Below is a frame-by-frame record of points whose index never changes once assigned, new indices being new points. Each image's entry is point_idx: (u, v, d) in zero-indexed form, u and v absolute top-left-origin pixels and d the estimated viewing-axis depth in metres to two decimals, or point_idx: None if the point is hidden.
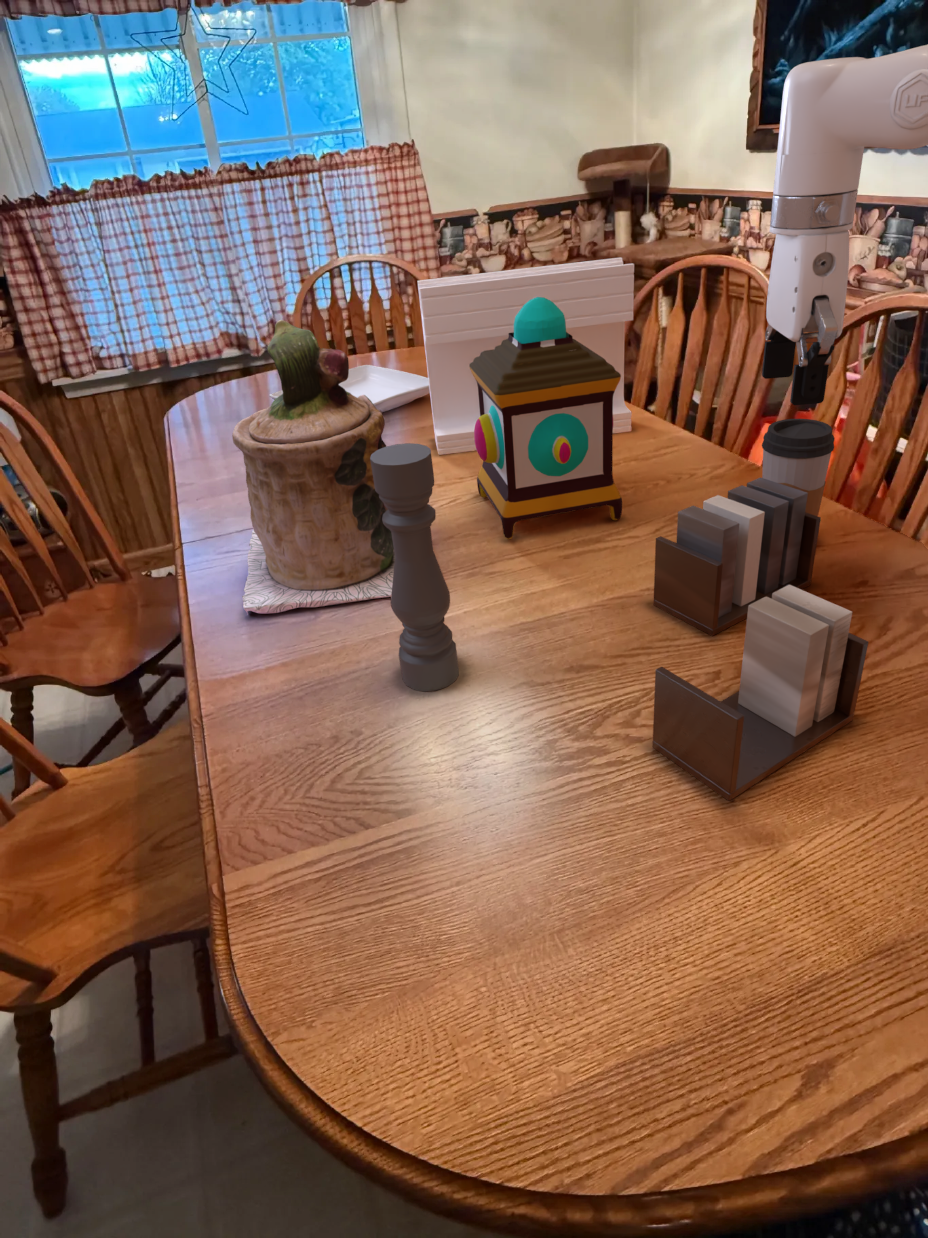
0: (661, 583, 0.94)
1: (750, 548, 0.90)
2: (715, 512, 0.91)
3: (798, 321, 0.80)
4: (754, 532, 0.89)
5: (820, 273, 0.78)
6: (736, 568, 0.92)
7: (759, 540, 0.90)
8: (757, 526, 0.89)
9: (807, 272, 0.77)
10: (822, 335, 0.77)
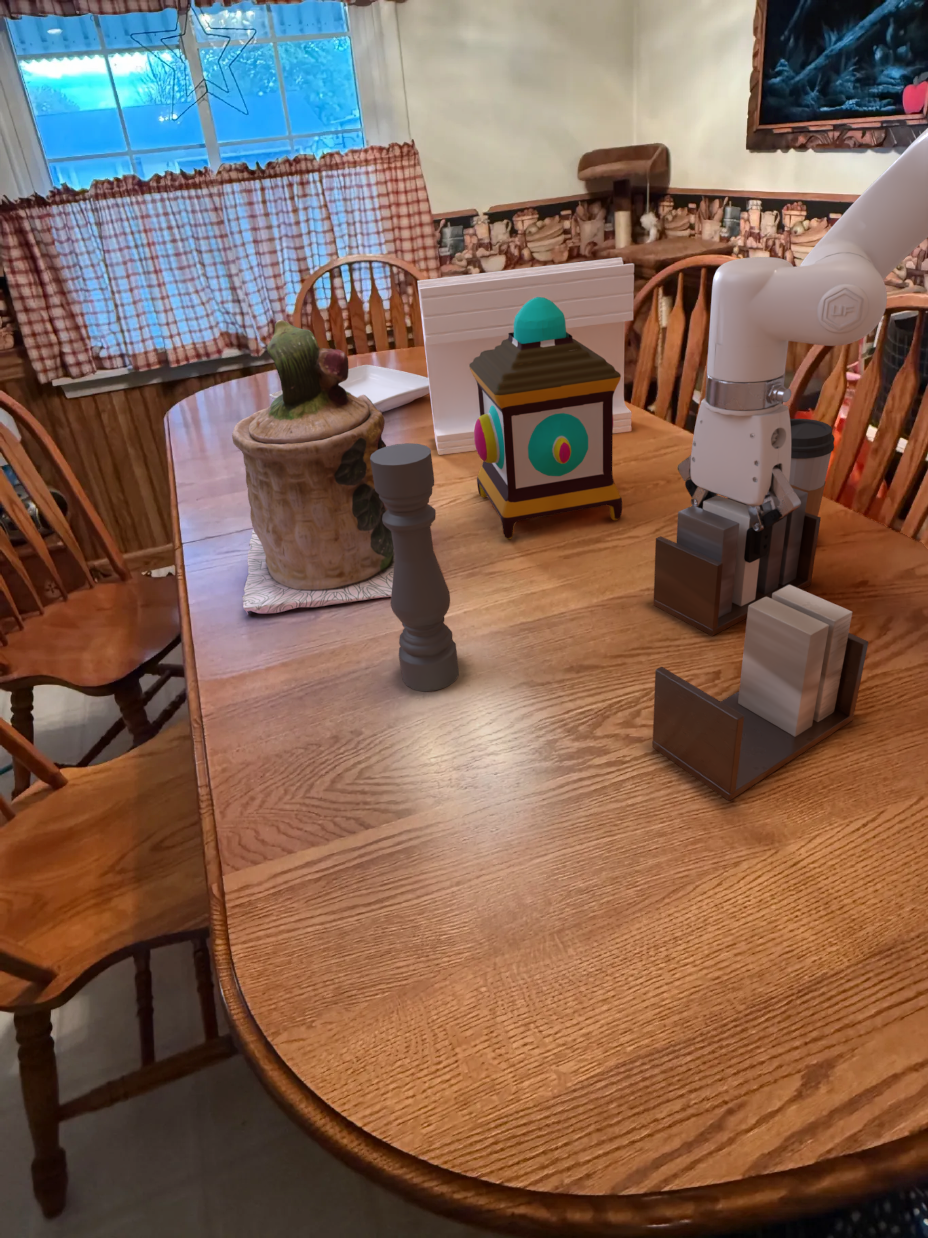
0: (661, 583, 0.94)
1: None
2: (715, 512, 0.91)
3: (761, 489, 0.84)
4: None
5: None
6: (736, 568, 0.92)
7: None
8: None
9: (767, 447, 0.82)
10: (787, 509, 0.84)
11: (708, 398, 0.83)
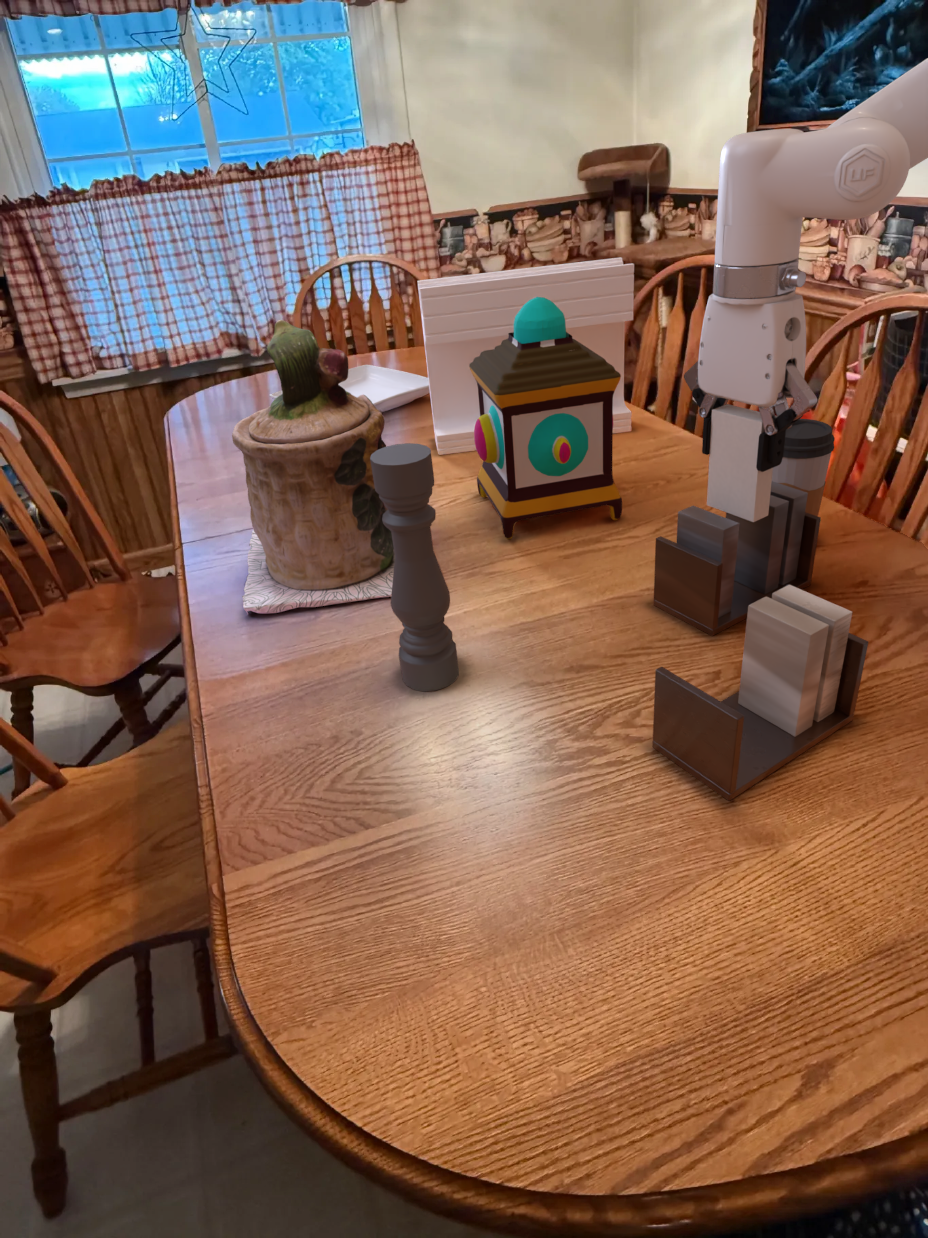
0: (661, 583, 0.94)
1: None
2: (725, 420, 0.86)
3: (775, 386, 0.78)
4: None
5: None
6: (748, 480, 0.86)
7: None
8: None
9: (780, 338, 0.76)
10: (802, 407, 0.78)
11: (716, 289, 0.78)
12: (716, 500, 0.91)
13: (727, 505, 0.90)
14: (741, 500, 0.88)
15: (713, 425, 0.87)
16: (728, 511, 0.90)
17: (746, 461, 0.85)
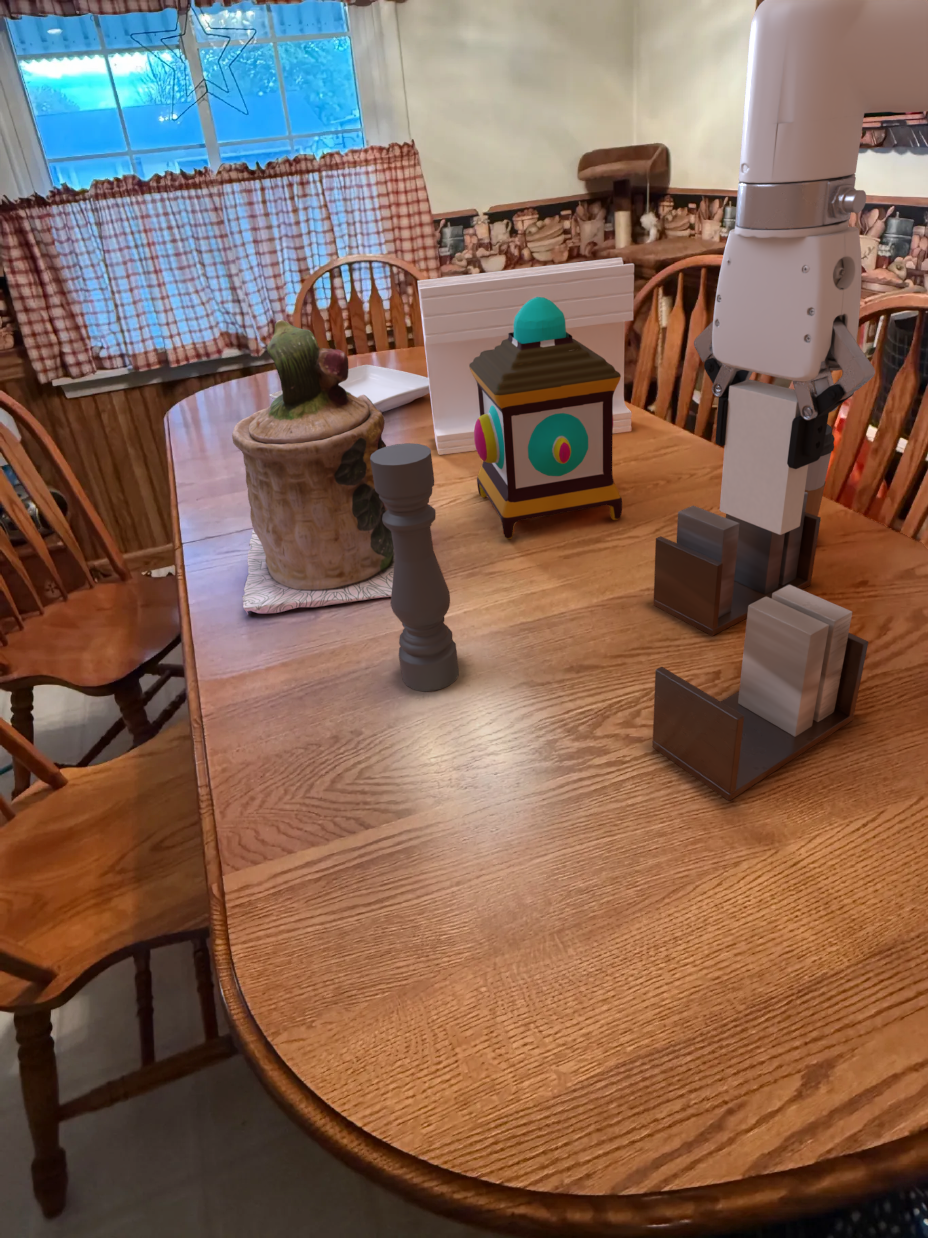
0: (661, 583, 0.94)
1: None
2: (746, 400, 0.65)
3: (817, 353, 0.58)
4: None
5: None
6: (775, 479, 0.65)
7: None
8: None
9: (827, 286, 0.56)
10: (854, 382, 0.57)
11: (740, 218, 0.57)
12: (732, 505, 0.70)
13: (746, 512, 0.69)
14: (765, 505, 0.67)
15: (730, 407, 0.67)
16: (747, 519, 0.69)
17: (773, 455, 0.65)
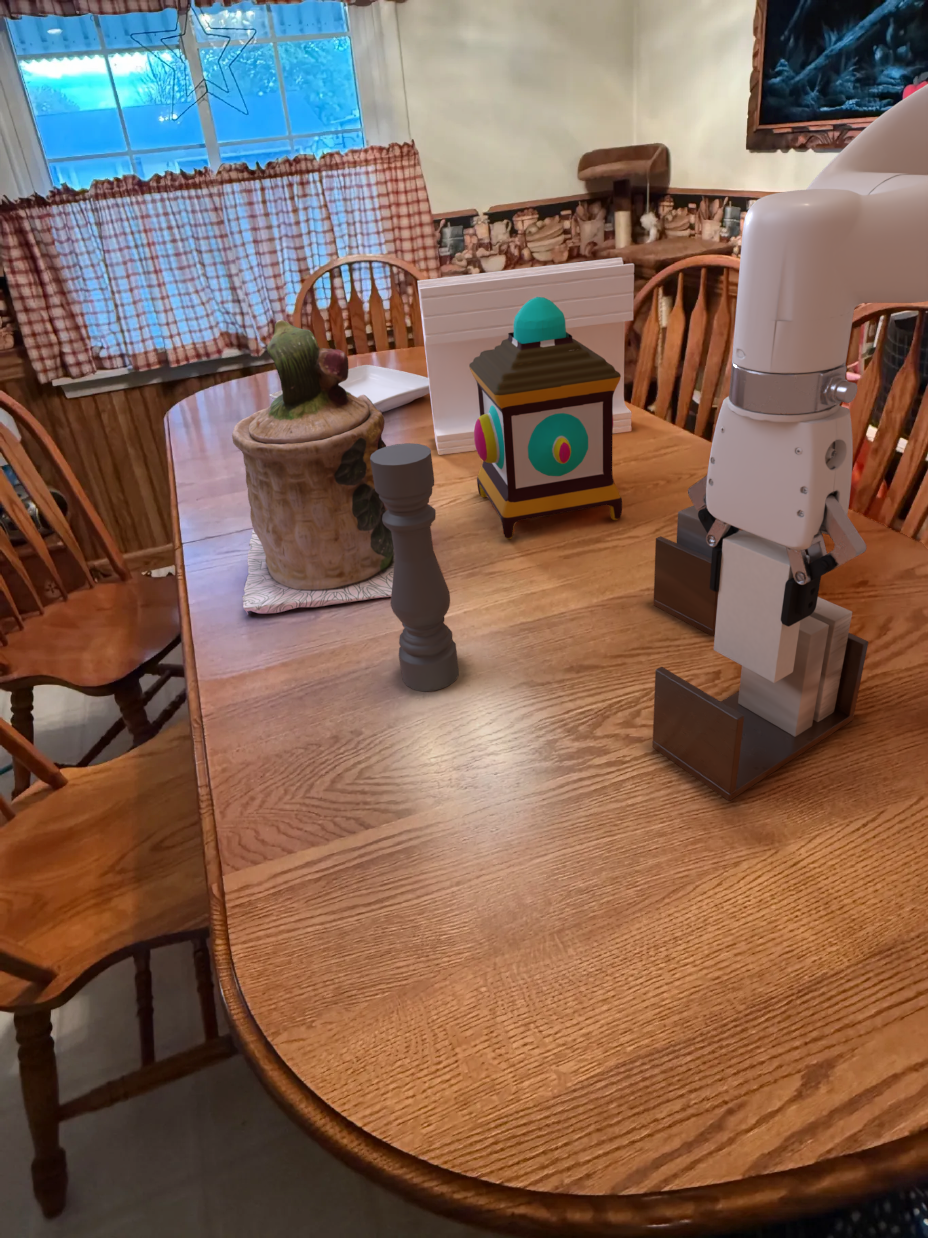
0: (661, 583, 0.94)
1: None
2: (740, 555, 0.66)
3: (810, 527, 0.59)
4: None
5: None
6: (768, 632, 0.66)
7: None
8: None
9: (820, 468, 0.57)
10: (846, 556, 0.58)
11: (734, 397, 0.58)
12: (726, 647, 0.71)
13: (740, 656, 0.70)
14: (759, 654, 0.68)
15: (723, 558, 0.68)
16: (741, 663, 0.70)
17: (766, 609, 0.66)
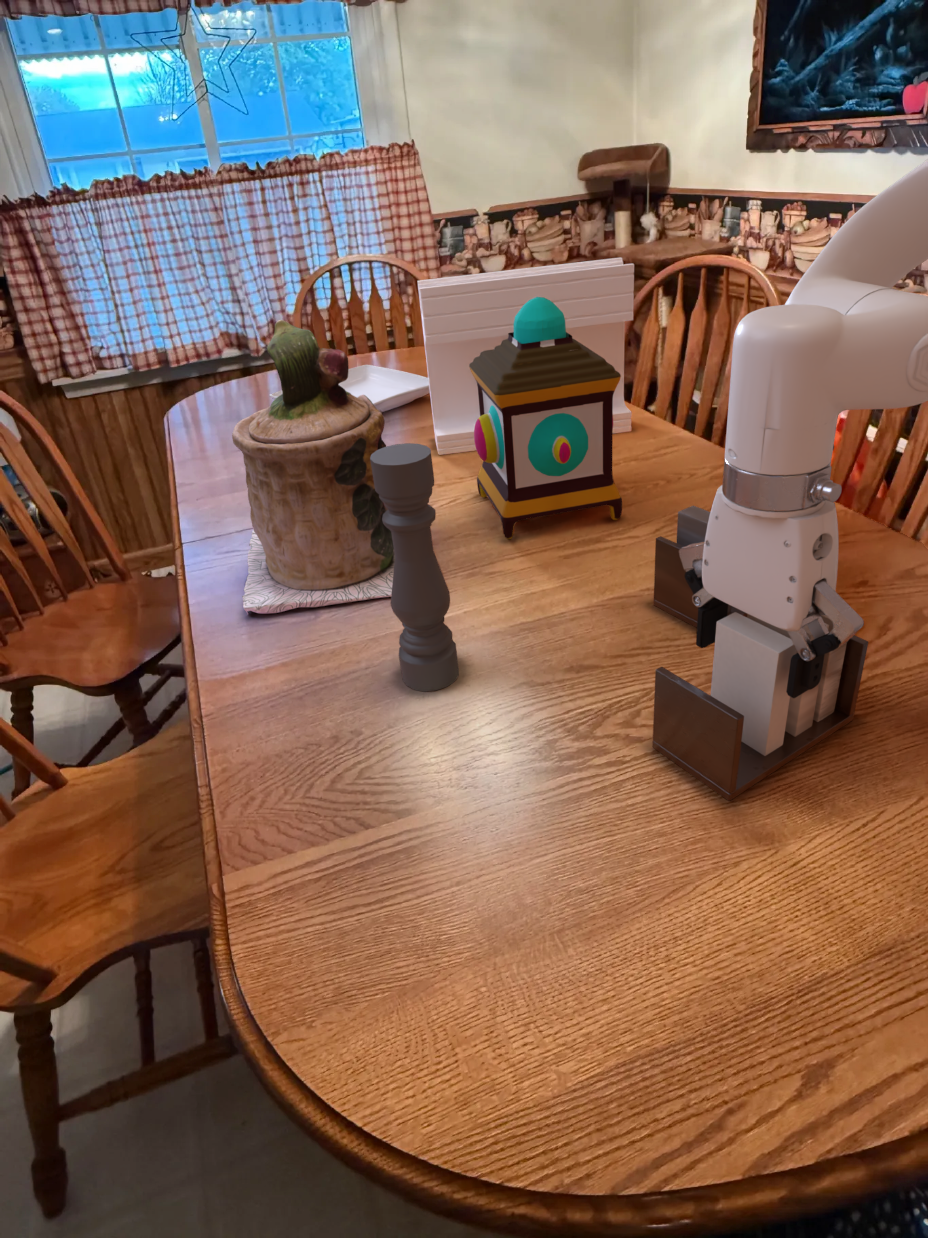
0: (661, 583, 0.94)
1: (778, 688, 0.69)
2: (732, 638, 0.70)
3: (799, 612, 0.62)
4: (784, 668, 0.68)
5: None
6: (759, 710, 0.71)
7: None
8: (788, 661, 0.68)
9: (807, 560, 0.60)
10: (846, 632, 0.61)
11: (727, 491, 0.62)
12: None
13: None
14: (751, 728, 0.72)
15: (717, 639, 0.72)
16: None
17: (757, 689, 0.70)
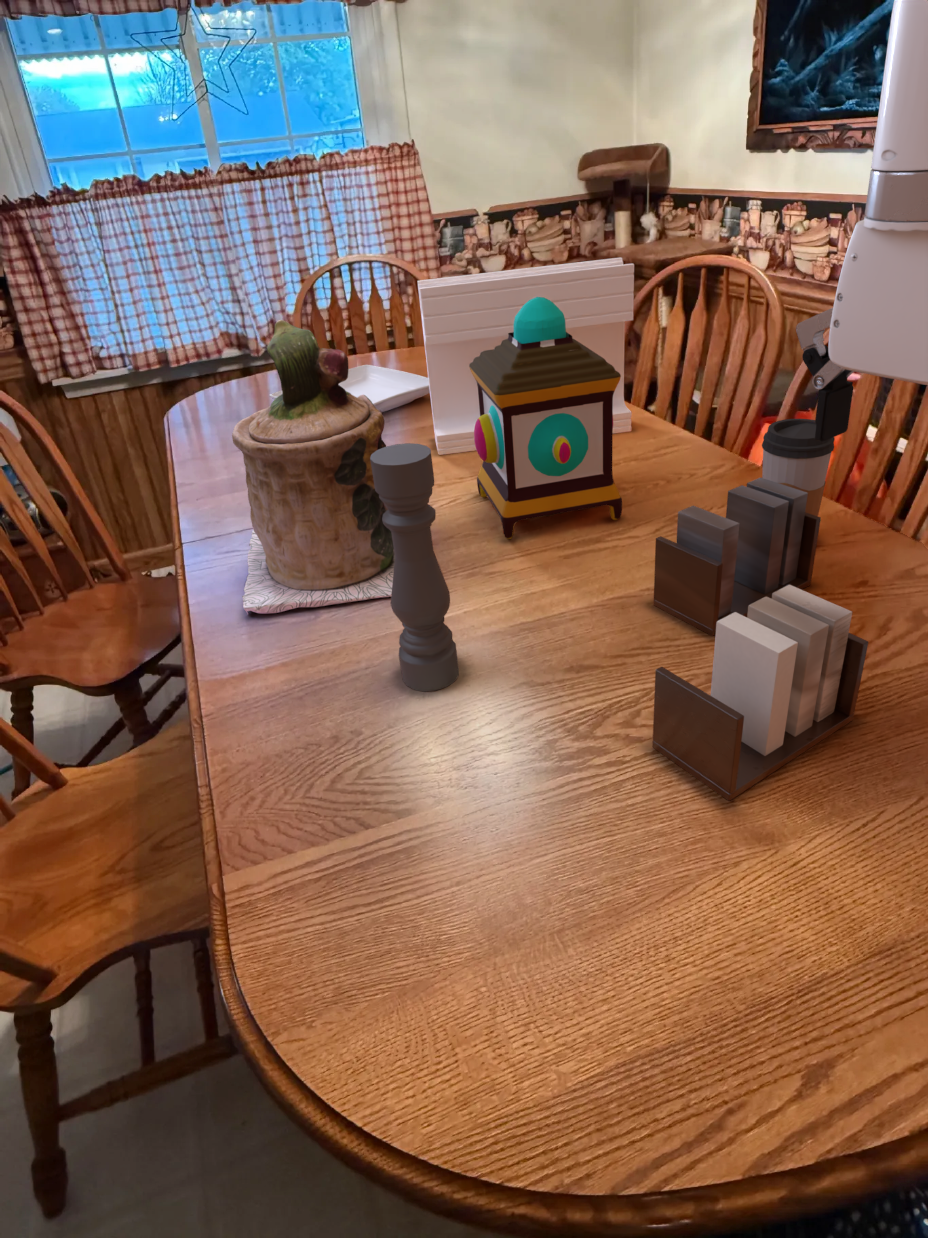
0: (661, 583, 0.94)
1: (778, 688, 0.69)
2: (732, 638, 0.70)
3: None
4: (784, 668, 0.68)
5: None
6: (759, 710, 0.71)
7: (790, 676, 0.69)
8: (788, 661, 0.68)
9: None
10: None
11: (874, 210, 0.52)
12: None
13: None
14: (751, 728, 0.72)
15: (717, 639, 0.72)
16: None
17: (757, 689, 0.70)
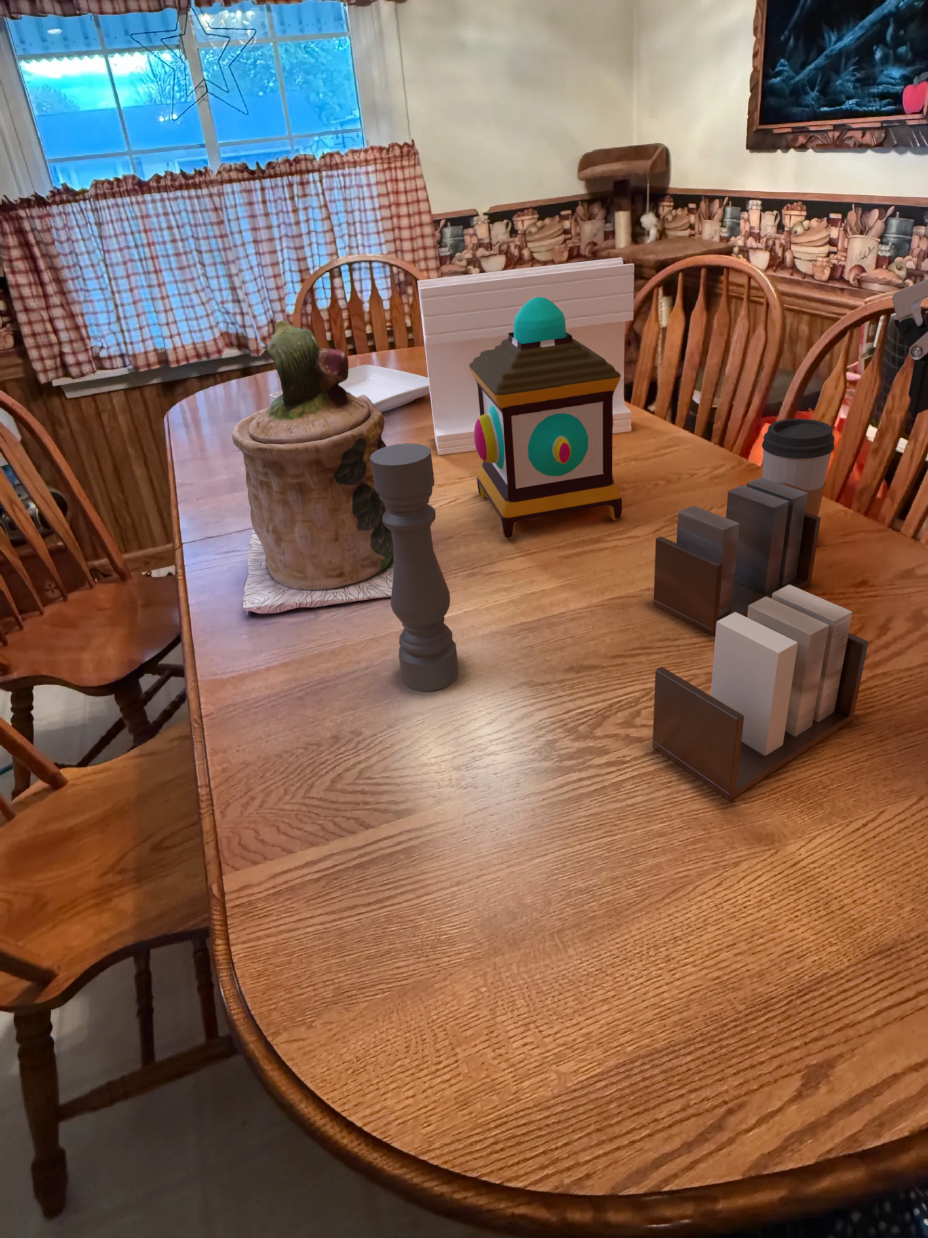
0: (661, 583, 0.94)
1: (778, 688, 0.69)
2: (732, 638, 0.70)
3: None
4: (784, 668, 0.68)
5: None
6: (759, 710, 0.71)
7: (790, 676, 0.69)
8: (788, 661, 0.68)
9: None
10: None
11: None
12: None
13: None
14: (751, 728, 0.72)
15: (717, 639, 0.72)
16: None
17: (757, 689, 0.70)
